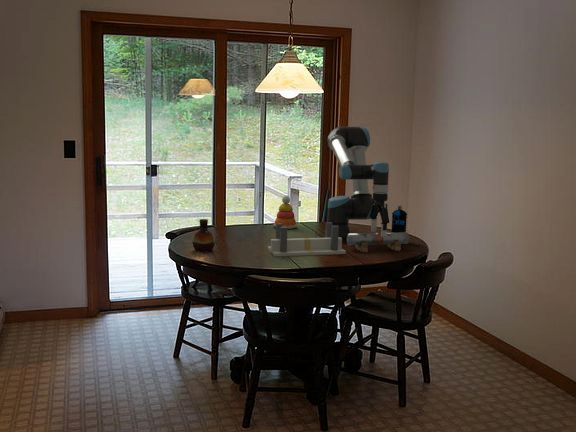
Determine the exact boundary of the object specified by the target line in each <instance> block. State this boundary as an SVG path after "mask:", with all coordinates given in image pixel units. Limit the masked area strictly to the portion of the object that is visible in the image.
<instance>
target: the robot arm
mask: <svg viewBox="0 0 576 432" xmlns="http://www.w3.org/2000/svg"><path fill="white" fill-rule="evenodd" d="M370 145H371V134H370V131H369V129H368V128H366V127H364V126H336V128H334V129H332V130H331V131H330V132H329V134H328V136H327V146H328V148H329V149H330V150H331V151H332V152H333V153H334V156H335V158H336V160H337V162H338V164H339V168H338V174H339V178H340V179H341V180H348V181H349V180H351V181H352V191H353V192H352V194H351V195H350V196H349V195H338V196H333V197H331V198H329V199H328V202H327V222H332V223H333V226H339V230H338V237H341V238H342V242H347V234H352V233H351V229H350V226H349V222H350V220H351V221H354V220H358V221H359V220H360V221H361V220H365V221H366V220H370V233H377V225H378V221H377V220H378V215H380V218H381V220H380V221H381V222H380V224H381V225H380V227H381V228H380V233H381V237H387V233H388V224H390V217H389V210H388V203H385V202H387V201H388V199H389V198H388V193H389V171H390V166H389V163H388V162H387V161H385V162H384V161H376V162H374V164H371V163H370V164H367V159H366V151H368V148H369V147H370ZM368 180H372V186H371V187H372V192H373V193H371V192H369V191H370V190H369V182H368ZM325 231H326V229H325V230H324V233H323V238H325Z"/></svg>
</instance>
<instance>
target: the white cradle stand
mask: <svg viewBox="0 0 576 432" xmlns="http://www.w3.org/2000/svg"><path fill="white" fill-rule="evenodd" d="M325 230H326V231H325ZM325 230H324V233H325V238H324V237H306V238H304V237H303V238H302V237H297V238H288V228H287V227H283V224H282V223H278V224H276V227H275V238H272V239H270V245H267V250H268V251H269V252H270V254H272V255H273V256H274V257H293V256H294V257H296V256H297V257H298V256H299V257H300V256H323V255H346V254H347V250H346V249H344V248H343V246H342V245H343V241H342V238H341V237H338V230H339V226H333V223H332V222H328V221H326V222H325Z"/></svg>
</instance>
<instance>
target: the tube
mask: <svg viewBox="0 0 576 432" xmlns="http://www.w3.org/2000/svg"><path fill="white" fill-rule="evenodd" d="M396 241H400V242H401V245H402V244H405V245H407V244H409V242H410V234H409V232H408V231H406V232H387V237H381V232H362V233H361V232H359V233H358V232H356V233H351V234H347V241H346V245H347V246H355V245H361V243H363V242H367V243H368V246H371V245H374V246H375V245H376V246H377V245H378V246H379V245H387V244H394V242H396Z"/></svg>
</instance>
